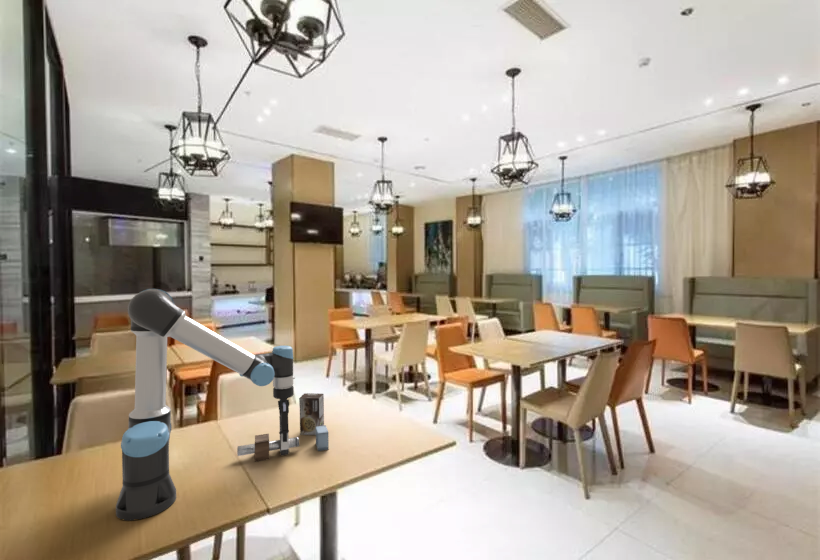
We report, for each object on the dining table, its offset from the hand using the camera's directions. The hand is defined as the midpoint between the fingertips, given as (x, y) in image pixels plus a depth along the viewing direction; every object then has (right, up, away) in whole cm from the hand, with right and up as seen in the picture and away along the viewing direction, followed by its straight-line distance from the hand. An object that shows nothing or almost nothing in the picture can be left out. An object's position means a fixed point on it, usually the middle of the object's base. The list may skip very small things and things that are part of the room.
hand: (284, 443), depth 150 cm
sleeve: (-7, -4, -3) cm, 9 cm away
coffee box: (+6, -3, +19) cm, 21 cm away
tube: (-5, -3, -2) cm, 6 cm away
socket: (+14, -3, +5) cm, 15 cm away
